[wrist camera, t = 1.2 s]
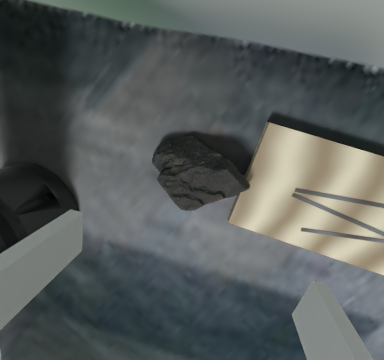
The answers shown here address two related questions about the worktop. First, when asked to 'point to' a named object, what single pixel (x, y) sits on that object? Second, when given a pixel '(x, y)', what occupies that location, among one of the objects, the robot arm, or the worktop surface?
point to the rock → (196, 173)
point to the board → (315, 196)
